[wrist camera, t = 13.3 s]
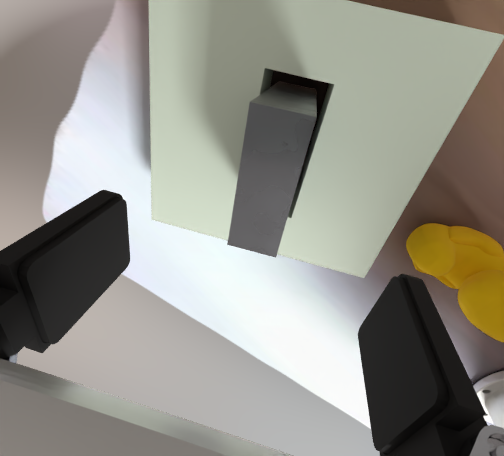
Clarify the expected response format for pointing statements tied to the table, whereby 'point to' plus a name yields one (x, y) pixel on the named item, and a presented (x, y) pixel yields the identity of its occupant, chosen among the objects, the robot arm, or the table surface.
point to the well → (329, 122)
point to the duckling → (464, 270)
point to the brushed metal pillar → (271, 165)
